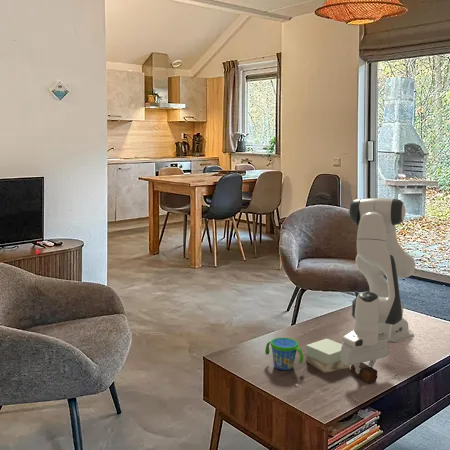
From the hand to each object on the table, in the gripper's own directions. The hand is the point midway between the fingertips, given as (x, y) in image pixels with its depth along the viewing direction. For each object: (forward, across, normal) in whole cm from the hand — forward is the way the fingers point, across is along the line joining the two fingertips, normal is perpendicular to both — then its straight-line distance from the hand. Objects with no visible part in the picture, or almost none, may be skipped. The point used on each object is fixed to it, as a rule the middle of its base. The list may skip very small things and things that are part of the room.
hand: (364, 371), depth 205 cm
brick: (+3, 0, 0) cm, 3 cm away
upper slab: (-1, +5, -16) cm, 17 cm away
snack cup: (+3, +22, -21) cm, 31 cm away
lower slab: (+3, +5, -16) cm, 17 cm away
